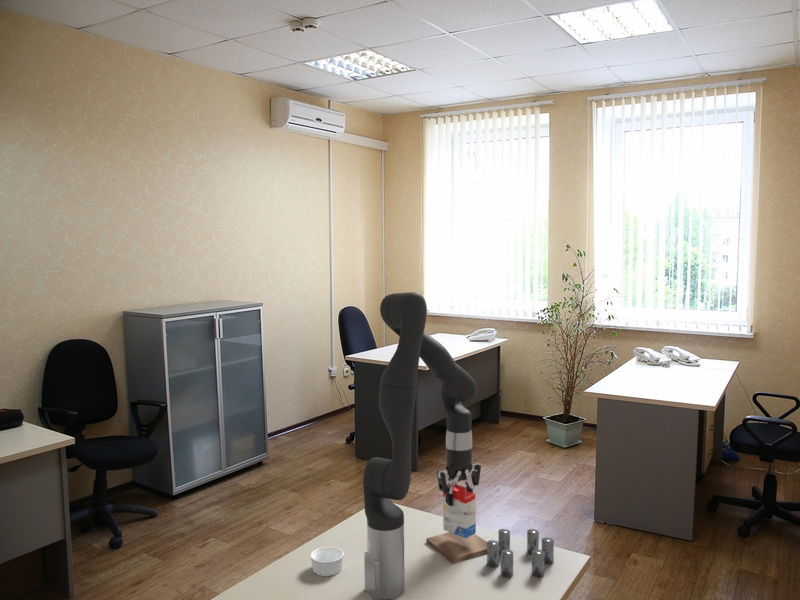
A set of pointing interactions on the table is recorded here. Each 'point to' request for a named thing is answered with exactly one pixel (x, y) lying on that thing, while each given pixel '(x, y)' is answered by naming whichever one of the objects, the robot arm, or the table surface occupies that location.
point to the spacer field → (532, 548)
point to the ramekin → (327, 561)
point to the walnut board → (458, 546)
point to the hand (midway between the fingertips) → (459, 502)
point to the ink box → (460, 513)
